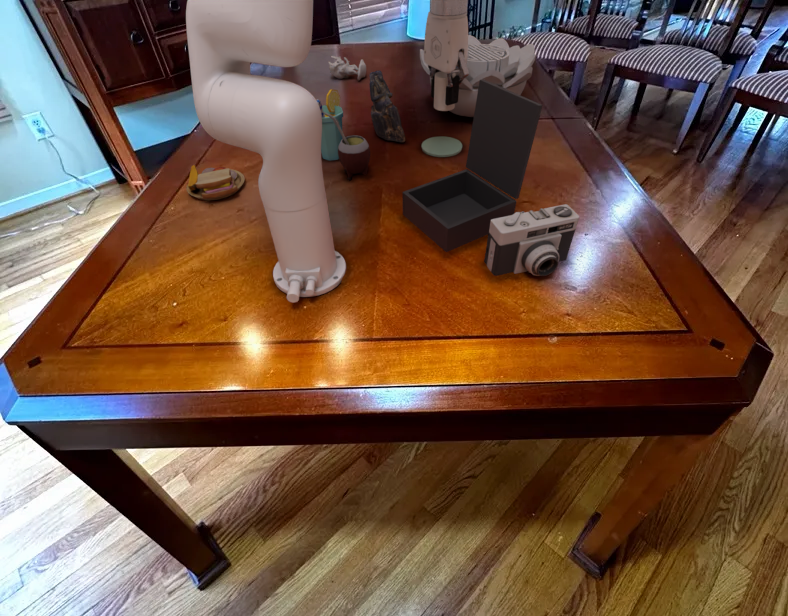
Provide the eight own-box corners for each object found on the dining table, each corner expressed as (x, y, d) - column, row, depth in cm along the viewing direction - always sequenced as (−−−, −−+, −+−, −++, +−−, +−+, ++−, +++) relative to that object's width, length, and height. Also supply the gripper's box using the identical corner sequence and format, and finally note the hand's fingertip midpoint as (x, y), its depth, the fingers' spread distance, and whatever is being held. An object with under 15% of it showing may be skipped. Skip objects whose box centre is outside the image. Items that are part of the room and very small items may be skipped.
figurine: (365, 68, 140) (327, 61, 140) (363, 88, 145) (326, 81, 144) (368, 56, 147) (332, 49, 146) (366, 76, 151) (331, 70, 150)
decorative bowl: (554, 121, 119) (568, 59, 109) (454, 142, 112) (459, 78, 102) (495, 84, 139) (502, 29, 129) (407, 100, 132) (407, 43, 122)
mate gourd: (377, 170, 103) (373, 104, 93) (358, 186, 99) (351, 118, 88) (350, 163, 106) (343, 98, 95) (330, 178, 101) (321, 111, 91)
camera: (503, 294, 73) (512, 245, 66) (482, 263, 79) (489, 215, 72) (578, 276, 76) (596, 227, 69) (553, 248, 81) (566, 200, 74)
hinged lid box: (446, 255, 81) (447, 228, 77) (402, 217, 90) (402, 191, 86) (511, 227, 86) (516, 200, 82) (464, 194, 95) (466, 168, 91)
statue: (395, 148, 111) (393, 84, 100) (366, 132, 118) (361, 71, 107) (412, 141, 113) (412, 77, 103) (383, 126, 120) (380, 65, 109)
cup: (339, 172, 103) (330, 105, 93) (307, 170, 104) (295, 104, 94) (354, 145, 113) (348, 81, 102) (324, 143, 114) (315, 80, 103)
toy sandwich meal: (247, 170, 105) (241, 151, 102) (244, 201, 96) (238, 181, 92) (192, 177, 104) (184, 157, 100) (183, 208, 94) (175, 188, 91)
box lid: (539, 105, 71) (542, 104, 71) (479, 79, 79) (483, 79, 80) (515, 199, 82) (518, 198, 82) (465, 167, 91) (468, 166, 91)
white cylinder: (455, 110, 102) (457, 77, 97) (434, 111, 102) (435, 78, 97) (453, 102, 105) (455, 70, 100) (433, 103, 105) (433, 71, 100)
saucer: (464, 156, 107) (464, 154, 106) (422, 157, 107) (422, 155, 107) (459, 137, 114) (459, 135, 114) (420, 139, 114) (420, 137, 114)
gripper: (409, 1, 93) (410, 92, 106) (459, 17, 83) (453, 116, 96) (438, -5, 96) (436, 85, 109) (491, 11, 86) (480, 108, 99)
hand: (444, 99), depth 102 cm, fingers closed on white cylinder, 4 cm apart
